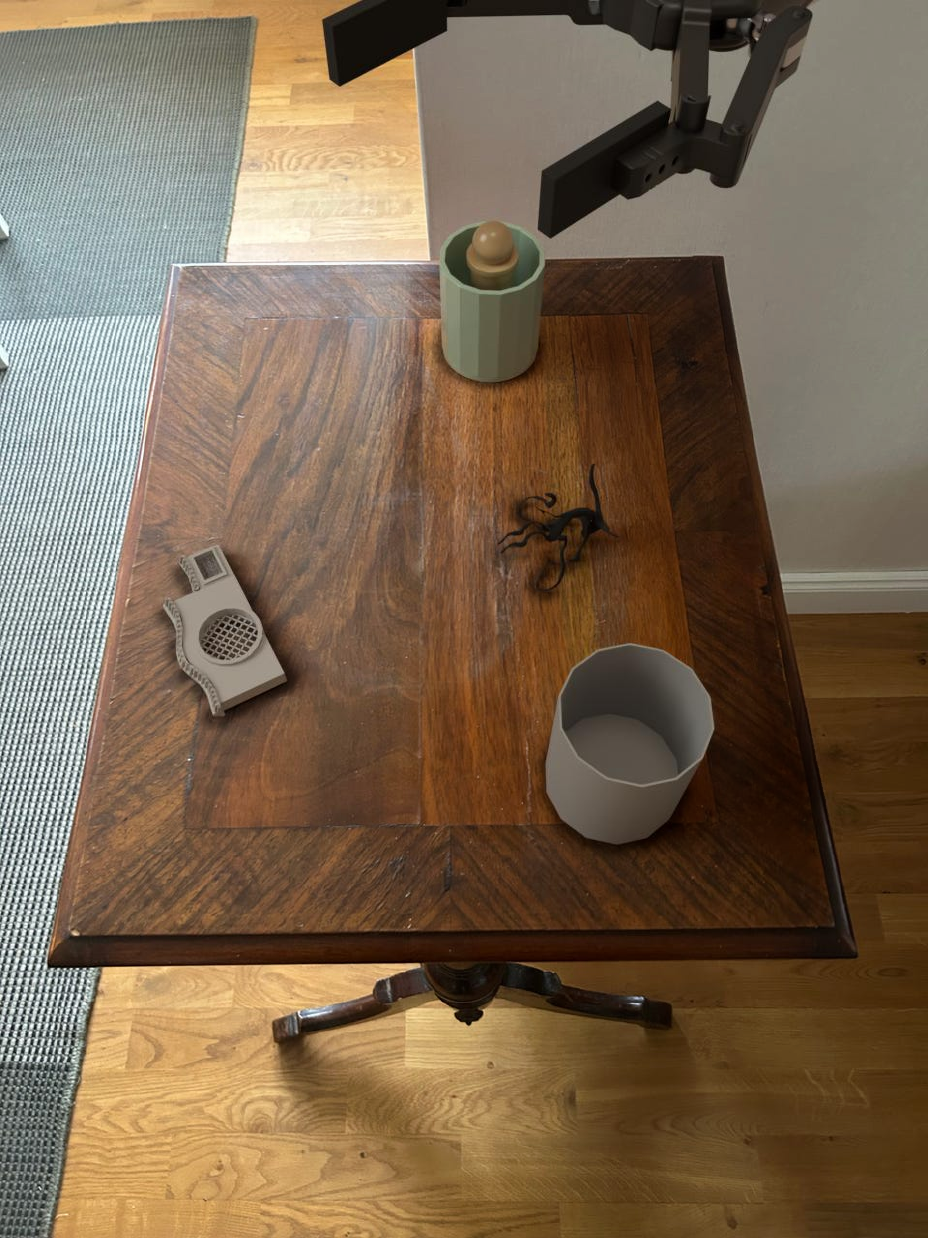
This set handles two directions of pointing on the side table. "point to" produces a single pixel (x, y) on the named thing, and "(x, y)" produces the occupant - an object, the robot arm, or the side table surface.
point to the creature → (558, 526)
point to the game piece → (492, 257)
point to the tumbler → (490, 310)
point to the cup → (626, 741)
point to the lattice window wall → (220, 634)
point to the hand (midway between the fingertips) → (431, 125)
